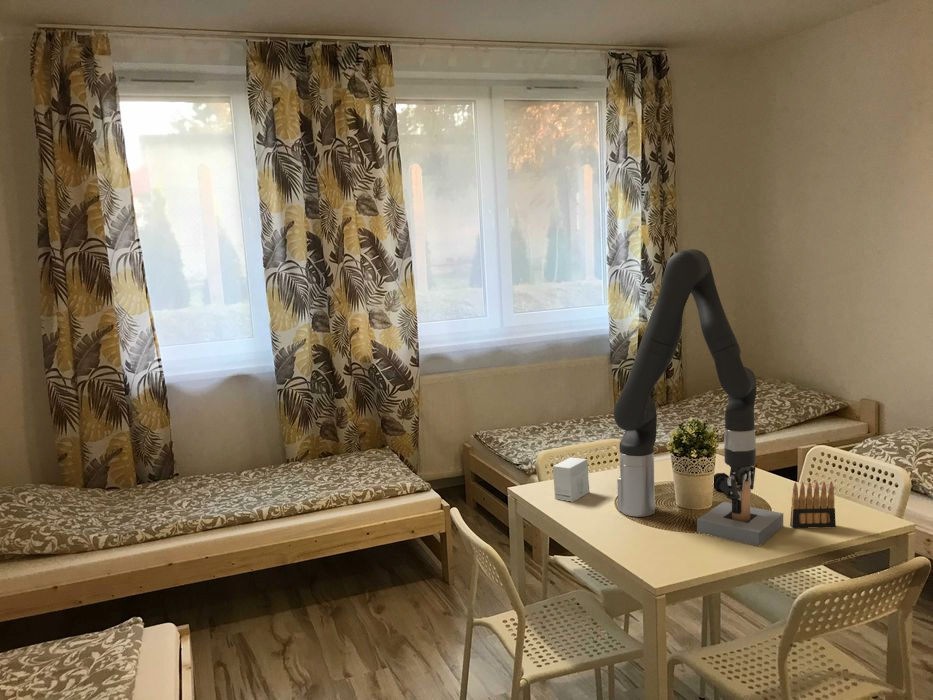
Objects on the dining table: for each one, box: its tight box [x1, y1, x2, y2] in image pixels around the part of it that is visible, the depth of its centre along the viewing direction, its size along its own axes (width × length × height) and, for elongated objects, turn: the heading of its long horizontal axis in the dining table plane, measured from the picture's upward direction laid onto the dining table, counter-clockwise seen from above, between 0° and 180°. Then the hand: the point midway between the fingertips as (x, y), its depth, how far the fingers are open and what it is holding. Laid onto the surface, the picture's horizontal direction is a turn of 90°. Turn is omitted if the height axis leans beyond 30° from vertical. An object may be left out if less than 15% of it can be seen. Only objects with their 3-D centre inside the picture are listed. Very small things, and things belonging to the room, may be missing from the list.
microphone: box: [713, 472, 731, 496], centre depth 221 cm, size 6×6×20 cm
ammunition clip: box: [789, 480, 837, 529], centre depth 196 cm, size 11×2×12 cm, turn 85°
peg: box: [732, 481, 751, 523], centre depth 197 cm, size 4×4×11 cm
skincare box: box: [552, 456, 590, 503], centre depth 230 cm, size 10×6×10 cm, turn 142°
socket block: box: [696, 501, 784, 547], centre depth 197 cm, size 16×16×4 cm
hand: (740, 510), depth 197 cm, fingers closed on peg, 4 cm apart
